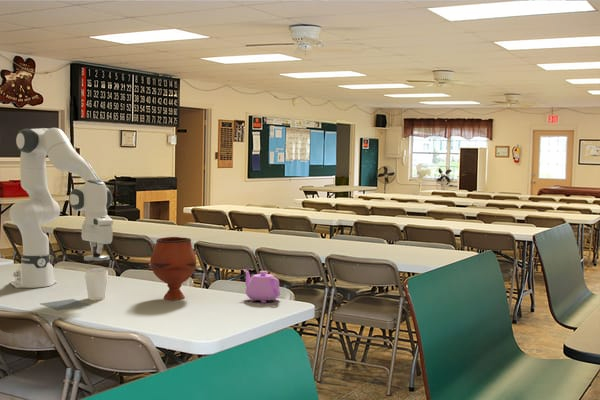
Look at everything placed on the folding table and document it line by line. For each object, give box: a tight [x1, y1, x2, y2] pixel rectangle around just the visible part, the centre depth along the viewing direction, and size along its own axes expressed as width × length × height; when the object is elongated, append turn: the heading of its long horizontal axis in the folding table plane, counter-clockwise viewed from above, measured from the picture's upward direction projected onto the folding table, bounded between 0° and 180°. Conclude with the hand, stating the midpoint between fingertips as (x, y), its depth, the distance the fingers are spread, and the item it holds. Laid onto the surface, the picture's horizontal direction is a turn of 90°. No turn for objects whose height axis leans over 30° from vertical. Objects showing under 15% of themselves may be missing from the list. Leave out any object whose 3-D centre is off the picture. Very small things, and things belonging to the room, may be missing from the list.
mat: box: [39, 298, 91, 311], centre depth 277 cm, size 16×14×1 cm
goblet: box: [149, 236, 197, 301], centre depth 292 cm, size 19×19×25 cm
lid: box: [83, 245, 110, 262], centre depth 288 cm, size 10×10×5 cm
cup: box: [84, 268, 109, 301], centre depth 289 cm, size 9×9×12 cm
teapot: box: [242, 269, 281, 304], centre depth 290 cm, size 20×14×12 cm
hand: (96, 253), depth 288 cm, fingers closed on lid, 3 cm apart
